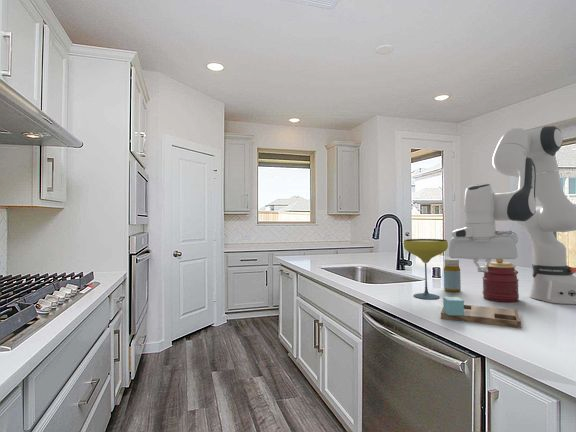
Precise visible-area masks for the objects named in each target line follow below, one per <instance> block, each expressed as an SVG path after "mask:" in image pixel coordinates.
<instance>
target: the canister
mask: <svg viewBox="0 0 576 432" xmlns="http://www.w3.org/2000/svg"><path fill="white" fill-rule="evenodd" d="M486 264H487V262H486V263H485V264H483V265H484V266H485V265H486ZM516 267H517V266H516V265H515V264H513V263H512V262H509V261H504V259H495V261H492V260H491V263H490V264H489V266H488V267H487V271H488V272H483V276H482V296H483V298H484V299H486V300H488V301H494V302H500V303H501V302H502V303H516V302H518V301H519V298H520V293H519V279H518V274H519V270H516Z"/></svg>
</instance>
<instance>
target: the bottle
mask: <svg viewBox="0 0 576 432" xmlns="http://www.w3.org/2000/svg"><path fill="white" fill-rule="evenodd" d="M443 286H444V287H443V288H444V290H445V292H451V293H459V292H461V288H462V287H461V268H460V258H451V257H449V258H447V257H445V258H444V267H443Z"/></svg>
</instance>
